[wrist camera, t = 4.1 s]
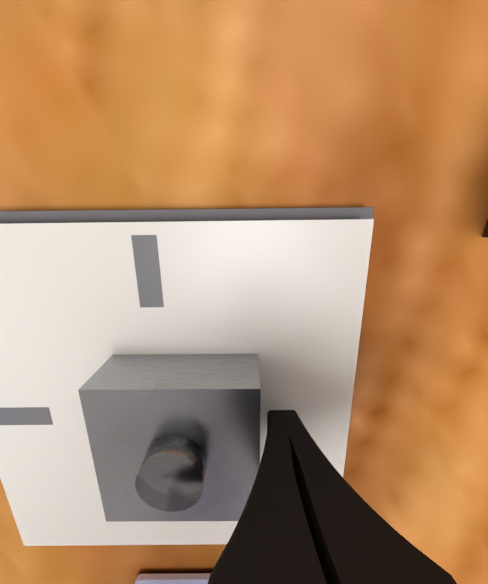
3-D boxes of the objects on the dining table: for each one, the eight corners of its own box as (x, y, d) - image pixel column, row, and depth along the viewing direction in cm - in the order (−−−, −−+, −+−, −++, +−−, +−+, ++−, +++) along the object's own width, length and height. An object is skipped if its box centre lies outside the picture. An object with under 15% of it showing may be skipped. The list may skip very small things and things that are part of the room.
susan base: (331, 511, 17) (335, 525, 16) (43, 514, 17) (33, 528, 16) (365, 208, 12) (373, 207, 11) (-49, 212, 12) (-69, 212, 11)
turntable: (329, 523, 16) (352, 606, 12) (-12, 526, 16) (-81, 609, 12) (362, 219, 11) (415, 218, 8) (-129, 225, 11) (-294, 227, 8)
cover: (256, 466, 13) (260, 550, 10) (131, 466, 13) (92, 550, 10) (257, 353, 12) (262, 408, 8) (112, 354, 12) (58, 409, 8)
